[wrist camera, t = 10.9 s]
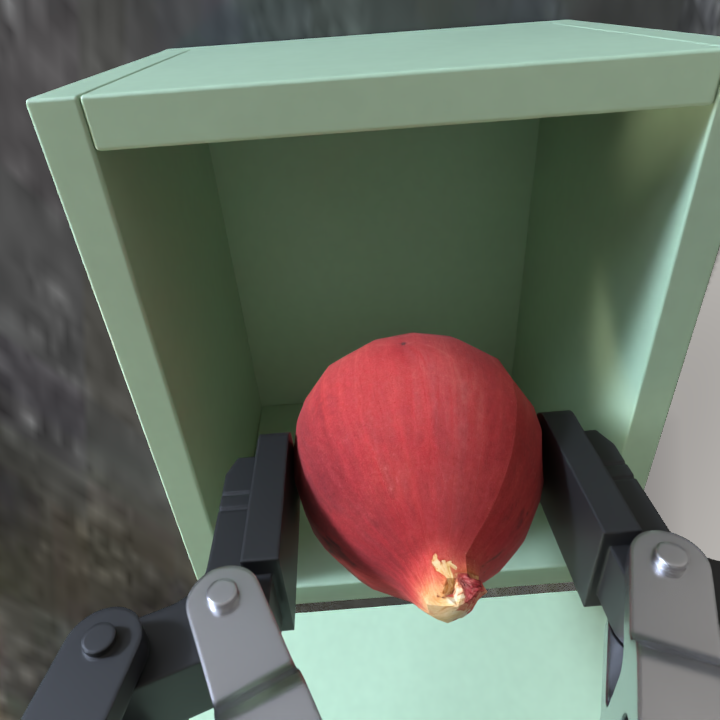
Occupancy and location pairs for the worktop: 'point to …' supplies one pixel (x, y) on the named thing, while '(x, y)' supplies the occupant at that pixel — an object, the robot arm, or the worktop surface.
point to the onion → (420, 468)
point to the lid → (454, 661)
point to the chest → (393, 232)
